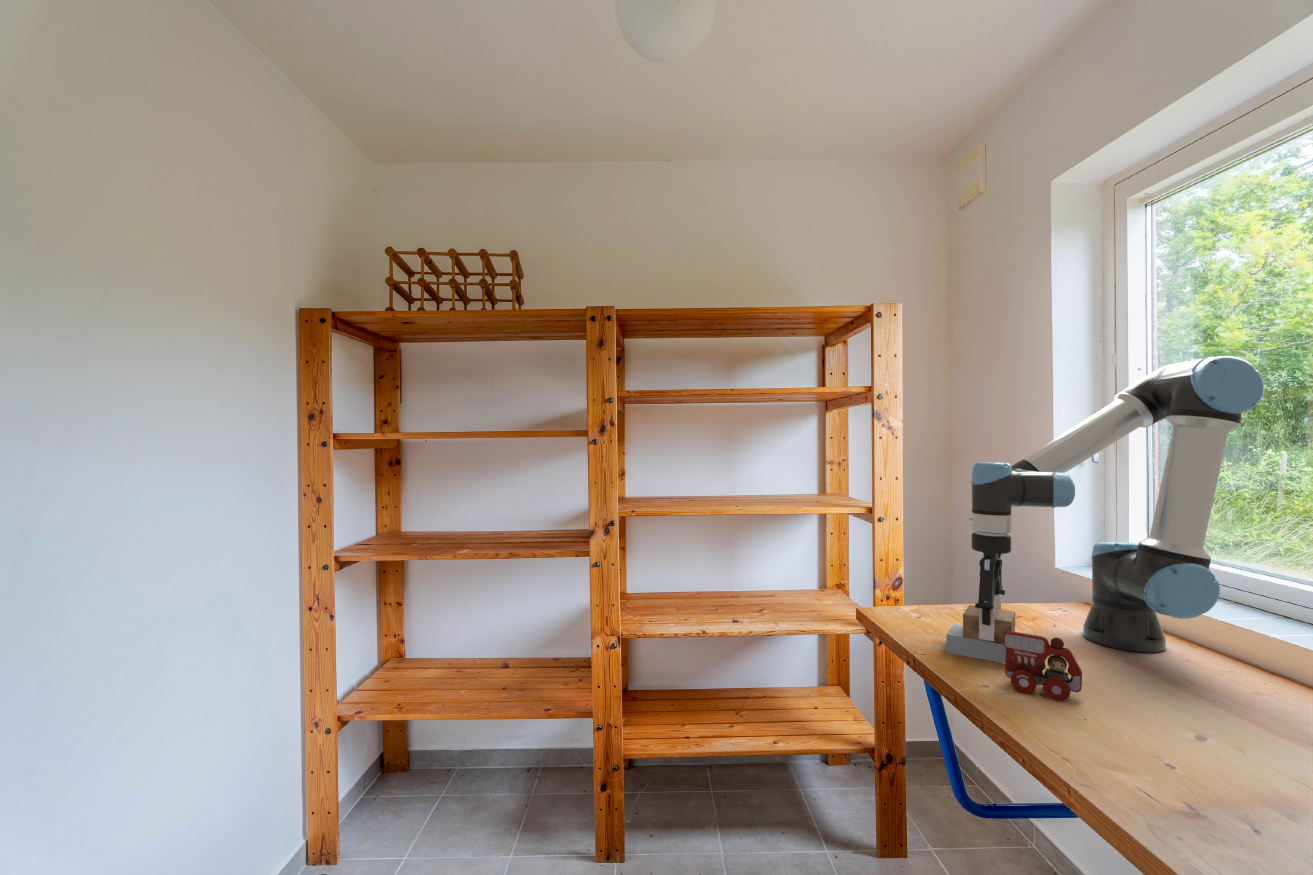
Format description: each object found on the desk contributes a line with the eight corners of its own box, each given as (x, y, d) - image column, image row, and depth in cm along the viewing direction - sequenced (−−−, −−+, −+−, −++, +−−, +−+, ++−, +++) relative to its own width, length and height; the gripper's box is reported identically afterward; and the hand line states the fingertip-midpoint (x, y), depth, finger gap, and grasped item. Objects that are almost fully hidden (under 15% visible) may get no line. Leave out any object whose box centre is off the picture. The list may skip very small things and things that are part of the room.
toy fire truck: (1082, 707, 104) (1083, 647, 104) (1001, 690, 111) (1001, 634, 111) (1081, 693, 110) (1081, 636, 110) (1003, 677, 117) (1004, 624, 117)
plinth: (1035, 656, 128) (1035, 637, 128) (1032, 669, 121) (1032, 649, 121) (953, 641, 138) (953, 623, 138) (946, 652, 130) (946, 634, 130)
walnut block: (1015, 634, 130) (1015, 611, 130) (1011, 645, 123) (1011, 621, 123) (969, 626, 136) (969, 604, 136) (962, 637, 128) (963, 614, 128)
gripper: (979, 525, 141) (979, 614, 141) (962, 538, 121) (962, 643, 121) (1016, 527, 137) (1015, 620, 137) (1005, 542, 117) (1004, 651, 117)
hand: (990, 631), depth 129 cm, fingers open, 13 cm apart
